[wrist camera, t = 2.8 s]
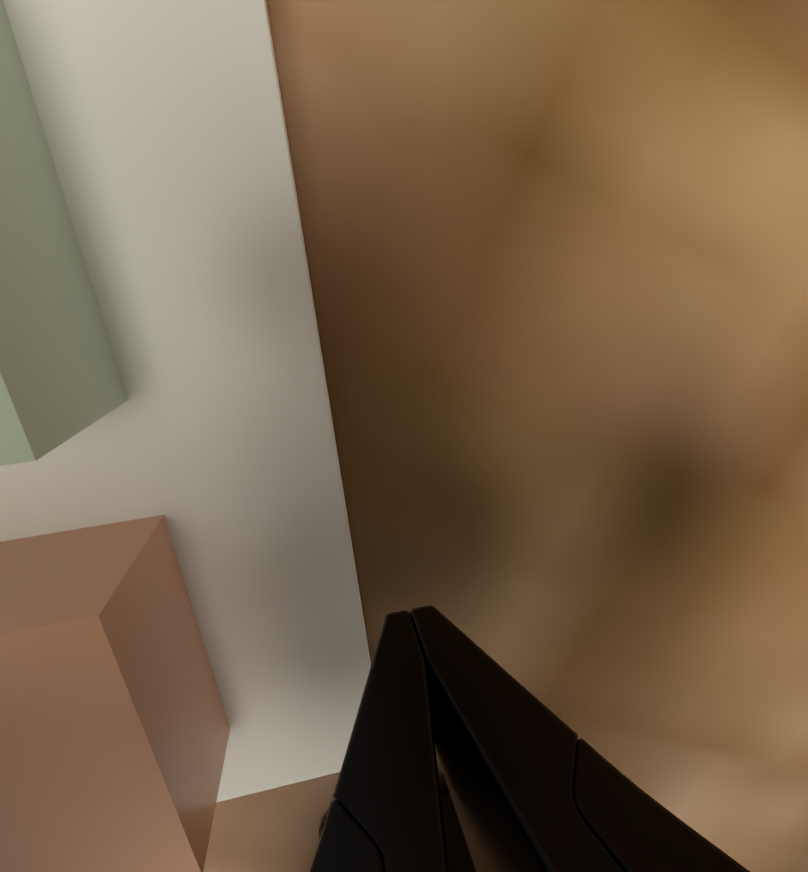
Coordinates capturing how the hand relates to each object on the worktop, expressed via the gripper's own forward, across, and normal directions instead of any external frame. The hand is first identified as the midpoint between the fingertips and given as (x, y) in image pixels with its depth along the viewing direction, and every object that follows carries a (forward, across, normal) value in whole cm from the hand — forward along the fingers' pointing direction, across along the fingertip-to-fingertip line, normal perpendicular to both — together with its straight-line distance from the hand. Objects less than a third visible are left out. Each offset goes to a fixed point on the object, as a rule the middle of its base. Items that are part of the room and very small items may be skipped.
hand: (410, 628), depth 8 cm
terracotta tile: (+1, +6, 0) cm, 6 cm away
